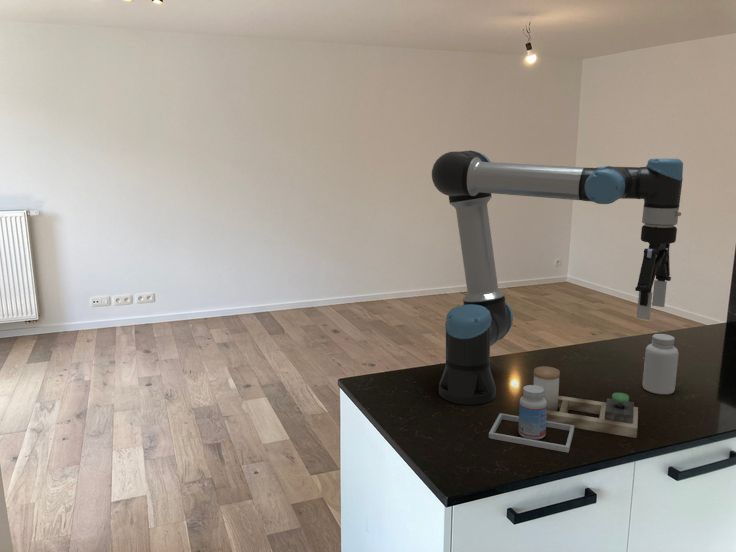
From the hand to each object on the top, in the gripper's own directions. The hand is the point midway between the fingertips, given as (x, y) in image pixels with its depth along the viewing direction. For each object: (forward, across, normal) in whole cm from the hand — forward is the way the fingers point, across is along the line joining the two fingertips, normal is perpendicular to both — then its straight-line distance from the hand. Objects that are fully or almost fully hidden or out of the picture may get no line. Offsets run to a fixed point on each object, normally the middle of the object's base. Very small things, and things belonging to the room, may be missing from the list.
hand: (650, 312), depth 144 cm
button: (+21, -13, +2) cm, 24 cm away
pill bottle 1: (+26, -30, +16) cm, 42 cm away
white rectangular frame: (+25, -30, +16) cm, 42 cm away
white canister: (+25, -17, +18) cm, 35 cm away
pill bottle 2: (+25, +15, 0) cm, 29 cm away
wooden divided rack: (+25, -15, +11) cm, 31 cm away
